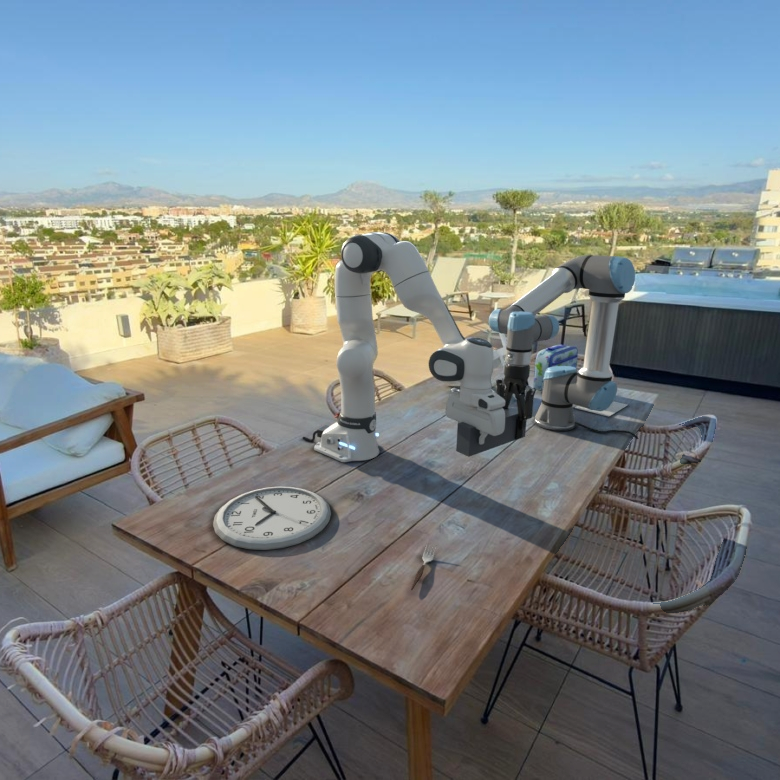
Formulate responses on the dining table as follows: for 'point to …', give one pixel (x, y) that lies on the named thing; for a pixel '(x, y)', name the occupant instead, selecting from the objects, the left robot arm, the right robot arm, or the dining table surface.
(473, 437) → the bar
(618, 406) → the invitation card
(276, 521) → the wall clock
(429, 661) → the dining table surface
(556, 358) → the lunch box
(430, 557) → the fork
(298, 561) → the dining table surface
